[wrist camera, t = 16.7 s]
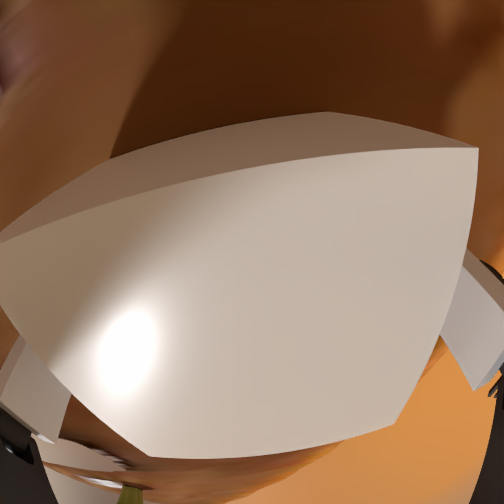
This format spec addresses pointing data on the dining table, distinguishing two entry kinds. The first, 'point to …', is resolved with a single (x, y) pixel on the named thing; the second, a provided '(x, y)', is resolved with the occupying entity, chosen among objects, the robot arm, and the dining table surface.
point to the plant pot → (130, 496)
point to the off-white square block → (246, 281)
